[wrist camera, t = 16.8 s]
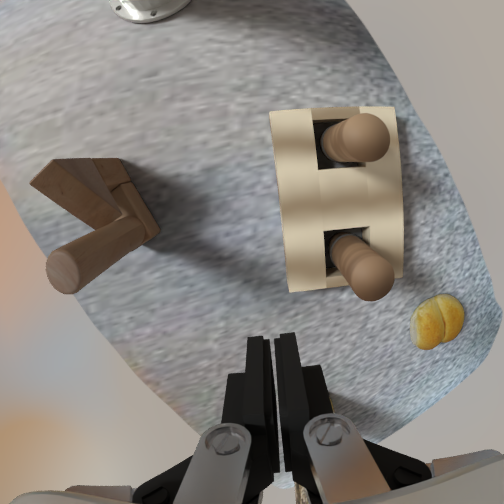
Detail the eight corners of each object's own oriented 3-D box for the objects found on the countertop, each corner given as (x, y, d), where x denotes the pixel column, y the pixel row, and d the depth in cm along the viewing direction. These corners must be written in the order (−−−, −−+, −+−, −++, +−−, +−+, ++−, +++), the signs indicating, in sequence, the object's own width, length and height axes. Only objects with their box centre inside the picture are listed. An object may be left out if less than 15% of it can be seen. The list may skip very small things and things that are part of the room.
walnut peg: (323, 229, 37) (350, 259, 25) (356, 226, 37) (396, 253, 25) (325, 263, 38) (351, 305, 27) (357, 259, 38) (394, 298, 26)
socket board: (269, 115, 34) (269, 111, 31) (384, 110, 33) (394, 106, 30) (287, 282, 39) (289, 292, 36) (393, 269, 38) (402, 277, 35)
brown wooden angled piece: (119, 156, 35) (24, 159, 18) (162, 230, 38) (92, 285, 20) (97, 173, 36) (-1, 188, 18) (139, 245, 38) (62, 305, 21)
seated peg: (313, 128, 34) (339, 112, 22) (348, 126, 34) (387, 111, 22) (318, 163, 35) (345, 164, 23) (352, 161, 35) (393, 162, 23)
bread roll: (456, 330, 41) (469, 343, 37) (408, 348, 42) (419, 363, 38) (458, 283, 39) (473, 294, 35) (407, 301, 40) (419, 314, 36)
